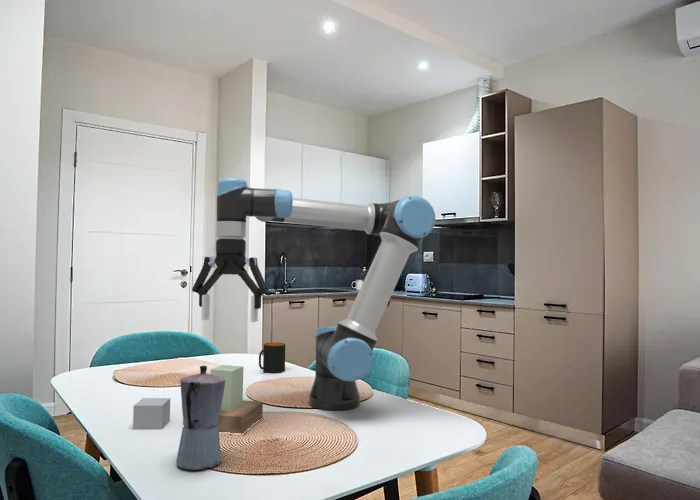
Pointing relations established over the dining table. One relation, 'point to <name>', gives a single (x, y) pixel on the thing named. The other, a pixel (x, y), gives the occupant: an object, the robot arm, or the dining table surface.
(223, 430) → the walnut block
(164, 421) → the slate block
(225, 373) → the sage block
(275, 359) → the mug
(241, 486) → the dining table surface
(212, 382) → the moka pot
